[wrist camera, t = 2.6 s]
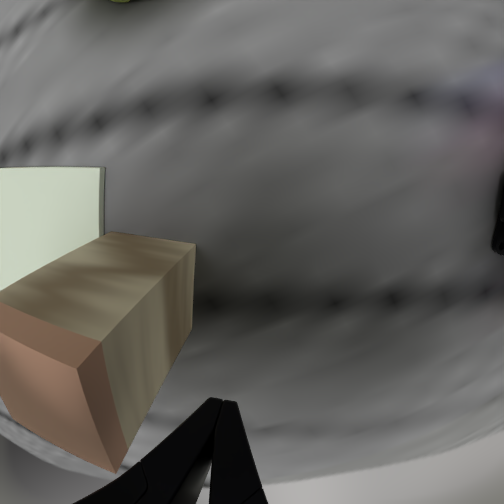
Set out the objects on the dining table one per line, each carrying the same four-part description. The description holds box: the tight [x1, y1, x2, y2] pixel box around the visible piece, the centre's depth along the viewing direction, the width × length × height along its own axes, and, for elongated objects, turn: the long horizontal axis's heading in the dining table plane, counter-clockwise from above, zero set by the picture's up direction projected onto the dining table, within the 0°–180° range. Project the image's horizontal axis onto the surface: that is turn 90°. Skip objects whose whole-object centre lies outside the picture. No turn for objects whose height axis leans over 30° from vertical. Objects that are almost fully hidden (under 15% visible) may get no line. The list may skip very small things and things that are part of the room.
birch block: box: [0, 231, 196, 474], centre depth 11 cm, size 5×5×10 cm
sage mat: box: [0, 167, 105, 291], centre depth 16 cm, size 12×12×1 cm
